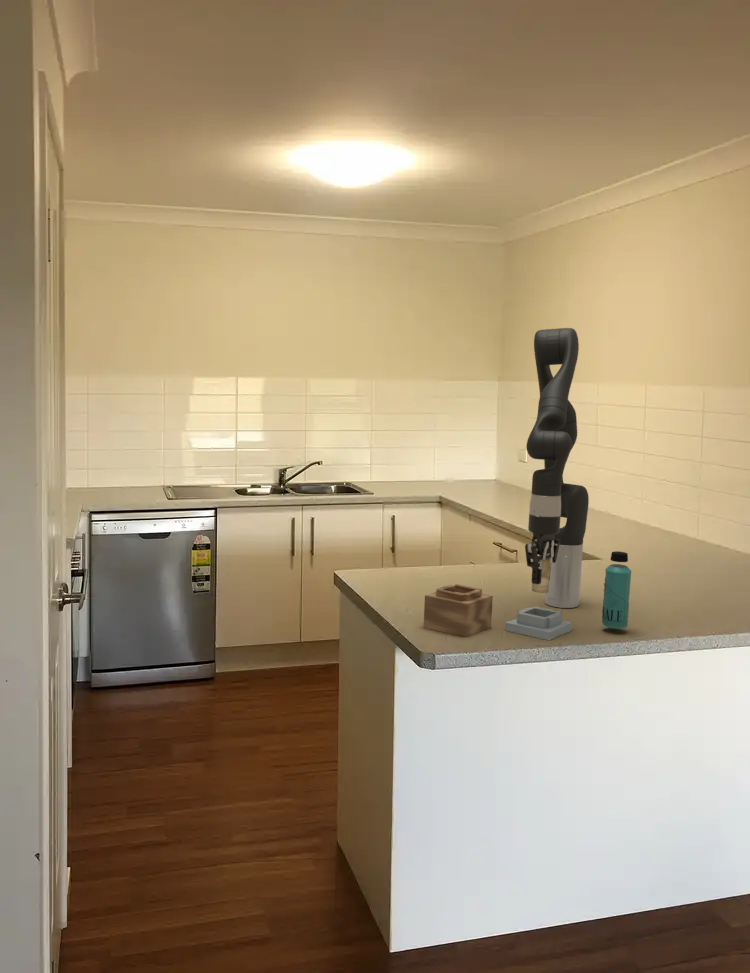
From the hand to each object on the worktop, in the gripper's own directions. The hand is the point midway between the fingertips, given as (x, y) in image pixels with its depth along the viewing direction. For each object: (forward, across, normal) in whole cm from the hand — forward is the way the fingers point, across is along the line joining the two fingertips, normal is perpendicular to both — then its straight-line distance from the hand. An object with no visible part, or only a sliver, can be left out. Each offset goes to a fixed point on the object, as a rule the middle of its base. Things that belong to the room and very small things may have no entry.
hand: (540, 581), depth 234 cm
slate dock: (+12, 0, 0) cm, 12 cm away
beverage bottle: (+12, -13, +14) cm, 23 cm away
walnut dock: (+12, +12, -16) cm, 23 cm away
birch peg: (+2, 0, 0) cm, 2 cm away
